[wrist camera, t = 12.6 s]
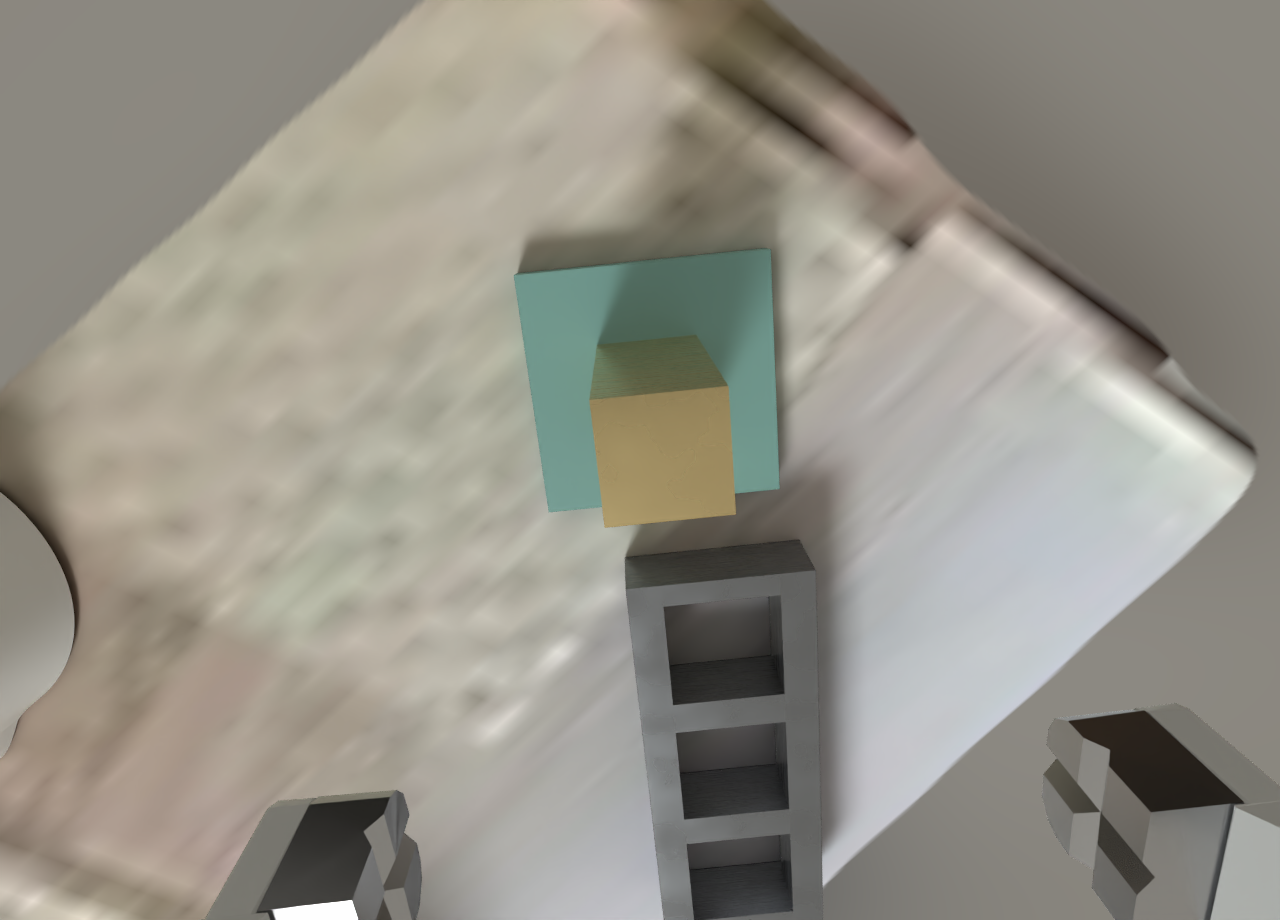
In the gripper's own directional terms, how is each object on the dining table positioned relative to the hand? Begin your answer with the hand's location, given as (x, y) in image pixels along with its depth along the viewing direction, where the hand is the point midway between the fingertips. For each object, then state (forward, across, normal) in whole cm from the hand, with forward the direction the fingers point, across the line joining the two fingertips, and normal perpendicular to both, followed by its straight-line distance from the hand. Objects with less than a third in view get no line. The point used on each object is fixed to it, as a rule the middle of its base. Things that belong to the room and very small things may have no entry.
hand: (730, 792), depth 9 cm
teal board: (+23, 0, 0) cm, 23 cm away
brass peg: (+22, 0, 0) cm, 22 cm away
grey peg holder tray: (+23, -2, +18) cm, 29 cm away
